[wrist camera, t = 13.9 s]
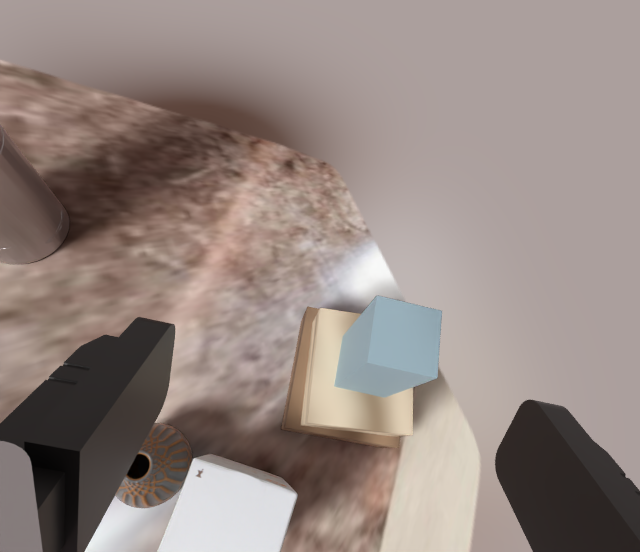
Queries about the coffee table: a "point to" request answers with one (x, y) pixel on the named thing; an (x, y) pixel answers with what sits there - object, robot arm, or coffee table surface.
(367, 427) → the tower top
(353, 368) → the block
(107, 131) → the coffee table surface
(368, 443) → the tower base
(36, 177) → the robot arm
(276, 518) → the small box
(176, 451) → the vase
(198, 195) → the coffee table surface
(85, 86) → the coffee table surface
